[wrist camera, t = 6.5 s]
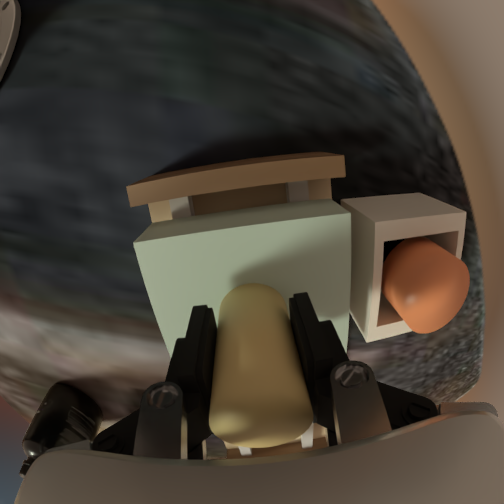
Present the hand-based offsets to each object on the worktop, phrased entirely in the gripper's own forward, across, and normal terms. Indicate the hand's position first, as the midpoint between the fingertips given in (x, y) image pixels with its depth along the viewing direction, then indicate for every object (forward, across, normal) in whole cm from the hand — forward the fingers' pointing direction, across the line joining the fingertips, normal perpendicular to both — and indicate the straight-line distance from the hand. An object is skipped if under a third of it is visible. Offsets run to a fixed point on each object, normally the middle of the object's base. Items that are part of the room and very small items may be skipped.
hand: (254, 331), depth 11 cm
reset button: (+3, -9, 0) cm, 10 cm away
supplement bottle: (+7, +21, +14) cm, 26 cm away
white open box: (+7, -9, 0) cm, 12 cm away
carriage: (+4, 0, 0) cm, 4 cm away
